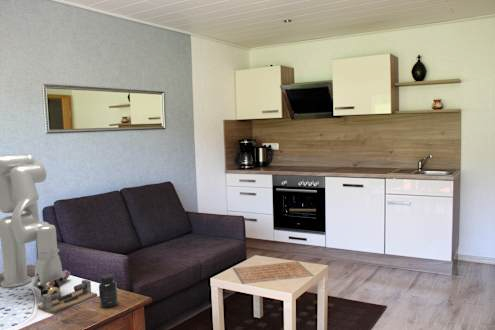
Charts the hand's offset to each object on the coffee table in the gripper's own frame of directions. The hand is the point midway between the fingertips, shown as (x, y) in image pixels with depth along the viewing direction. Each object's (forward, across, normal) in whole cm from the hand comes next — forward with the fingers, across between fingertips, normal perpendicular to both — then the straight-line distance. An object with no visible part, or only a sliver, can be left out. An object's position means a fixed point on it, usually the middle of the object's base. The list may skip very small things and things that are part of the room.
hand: (50, 296), depth 185 cm
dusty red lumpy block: (+1, -13, -12) cm, 17 cm away
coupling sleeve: (+1, 0, 0) cm, 1 cm away
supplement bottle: (+1, -7, +28) cm, 29 cm away
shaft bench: (+1, 0, +11) cm, 11 cm away
